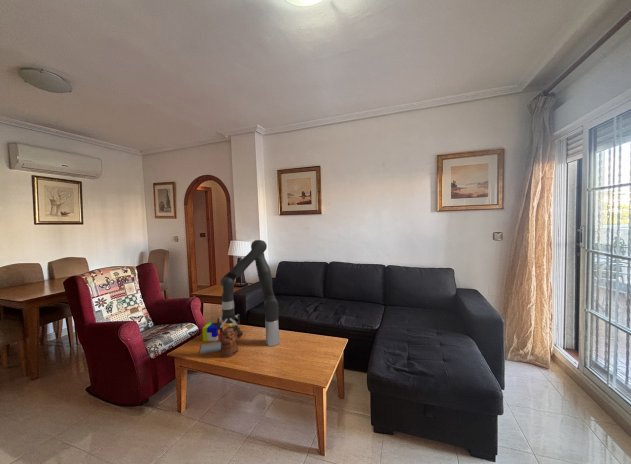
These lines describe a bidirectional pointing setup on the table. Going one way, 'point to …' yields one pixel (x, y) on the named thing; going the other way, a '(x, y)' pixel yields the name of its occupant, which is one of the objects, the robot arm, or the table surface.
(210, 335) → the puzzle toy
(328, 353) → the table surface
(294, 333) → the table surface
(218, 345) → the gray square panel
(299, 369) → the table surface
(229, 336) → the wooden figurine
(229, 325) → the green-brown rounded mound
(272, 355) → the table surface
